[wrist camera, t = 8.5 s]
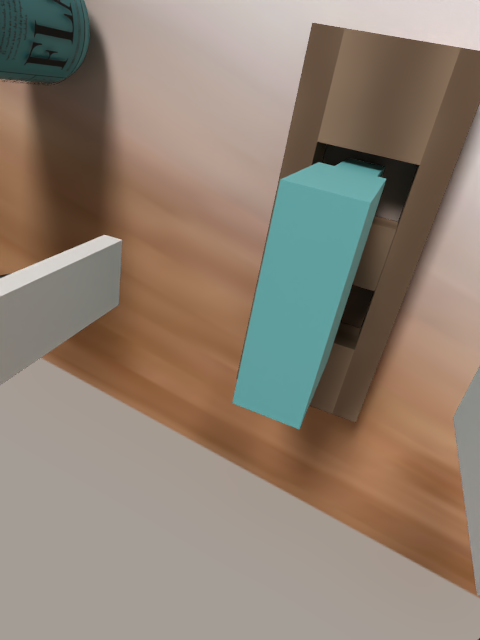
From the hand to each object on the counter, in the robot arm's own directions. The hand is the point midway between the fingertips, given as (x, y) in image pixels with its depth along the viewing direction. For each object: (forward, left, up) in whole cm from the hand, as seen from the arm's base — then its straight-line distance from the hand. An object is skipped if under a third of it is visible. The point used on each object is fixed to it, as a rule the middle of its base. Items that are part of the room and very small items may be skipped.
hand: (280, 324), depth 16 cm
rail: (0, 0, -13) cm, 13 cm away
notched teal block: (0, 0, -13) cm, 13 cm away
